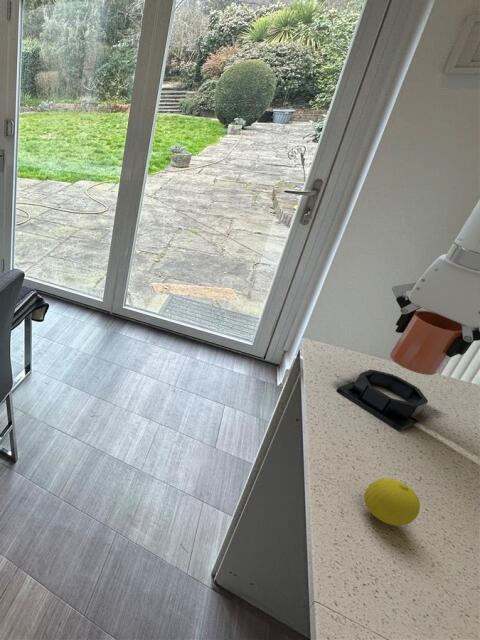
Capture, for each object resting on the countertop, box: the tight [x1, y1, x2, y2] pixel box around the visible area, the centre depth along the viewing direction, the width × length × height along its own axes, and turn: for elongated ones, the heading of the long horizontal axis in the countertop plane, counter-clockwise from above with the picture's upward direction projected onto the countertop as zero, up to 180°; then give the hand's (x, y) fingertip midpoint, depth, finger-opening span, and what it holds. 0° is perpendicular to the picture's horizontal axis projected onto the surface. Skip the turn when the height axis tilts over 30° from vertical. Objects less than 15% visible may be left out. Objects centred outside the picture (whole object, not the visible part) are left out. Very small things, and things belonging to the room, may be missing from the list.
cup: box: [388, 310, 462, 376], centre depth 77 cm, size 7×7×10 cm
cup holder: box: [335, 369, 429, 432], centre depth 83 cm, size 11×11×4 cm
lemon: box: [363, 477, 421, 527], centre depth 62 cm, size 6×6×8 cm
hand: (426, 341), depth 77 cm, fingers closed on cup, 6 cm apart
